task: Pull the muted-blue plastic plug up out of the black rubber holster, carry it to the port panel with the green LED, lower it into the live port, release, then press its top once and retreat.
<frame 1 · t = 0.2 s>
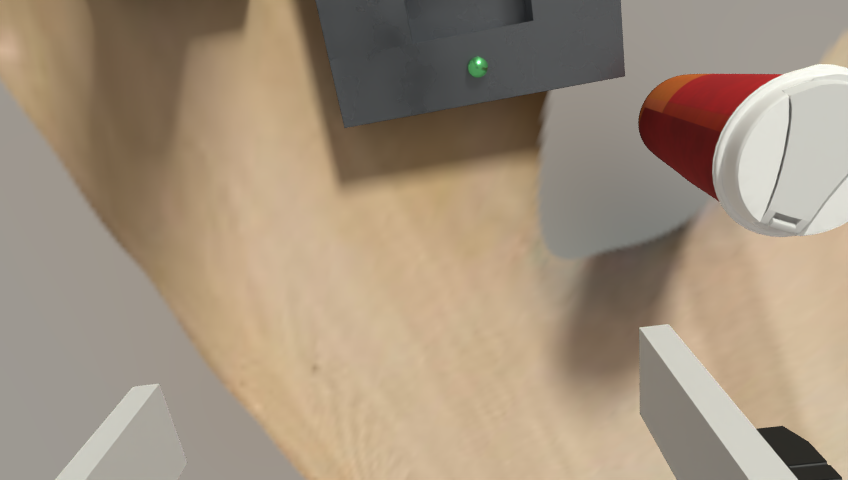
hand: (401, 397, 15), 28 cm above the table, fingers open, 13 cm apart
coffee cup: (679, 116, 40), on the table
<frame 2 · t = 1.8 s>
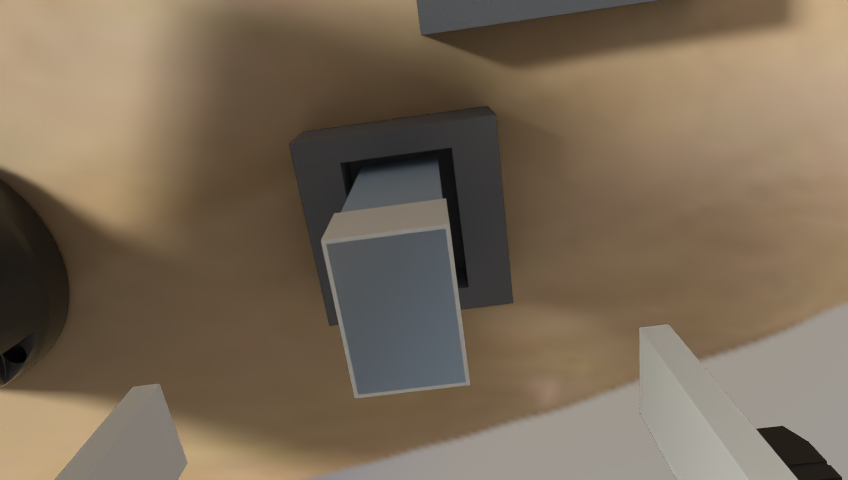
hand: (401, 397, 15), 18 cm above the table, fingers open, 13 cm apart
holster: (408, 207, 32), on the table
plug: (408, 212, 31), point 1 cm above the table, touching holster
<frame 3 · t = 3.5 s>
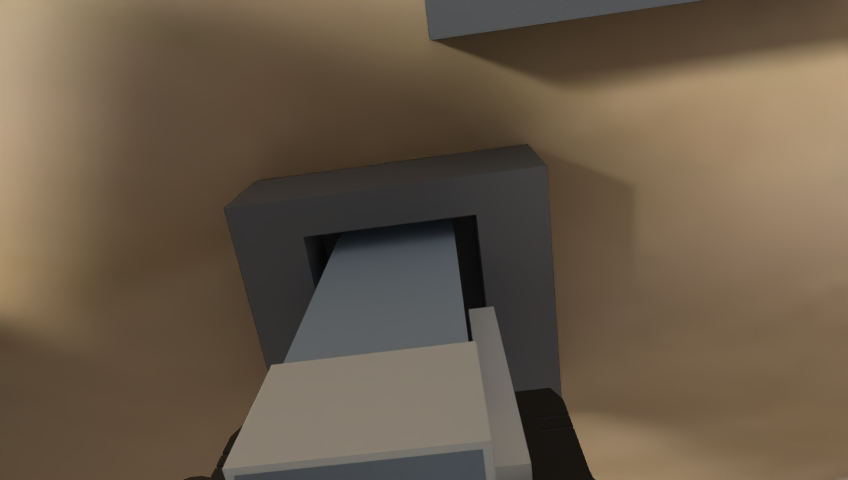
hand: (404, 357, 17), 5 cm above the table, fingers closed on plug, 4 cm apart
holster: (409, 286, 22), on the table
plug: (408, 297, 21), point 1 cm above the table, touching gripper, holster
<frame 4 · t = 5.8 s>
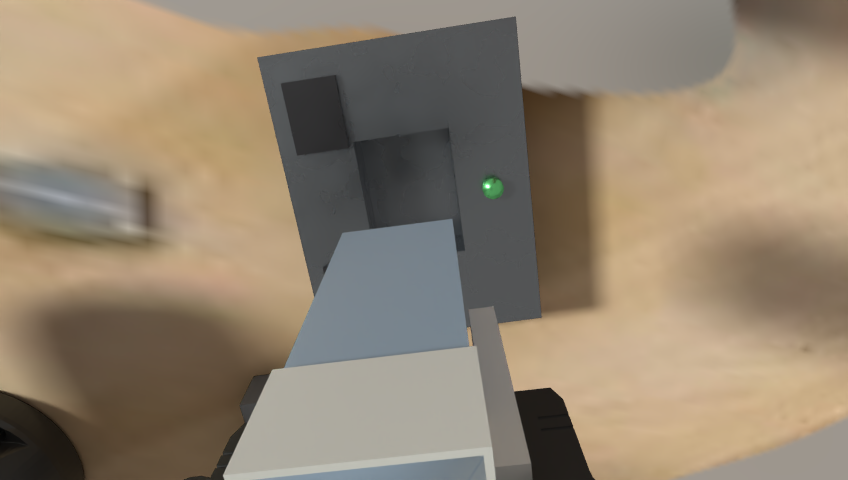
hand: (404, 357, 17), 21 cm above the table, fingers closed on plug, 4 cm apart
port panel: (412, 181, 37), on the table
holster: (333, 422, 43), on the table
plug: (409, 300, 21), point 17 cm above the table, touching gripper
when the fingers open (6 cm above the table, at t = 8.0 s): plug drops 1 cm, resting on port panel.
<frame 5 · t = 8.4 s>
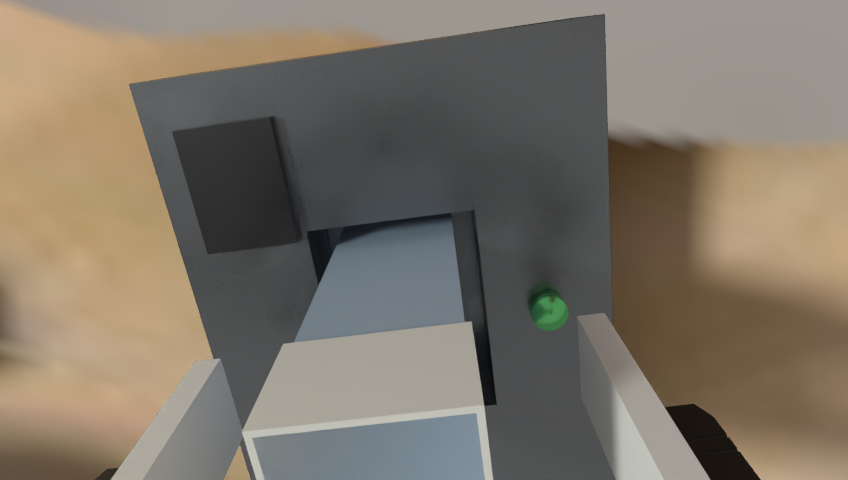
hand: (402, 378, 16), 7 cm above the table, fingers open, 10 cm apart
port panel: (410, 276, 23), on the table
plug: (409, 288, 22), point 1 cm above the table, touching port panel
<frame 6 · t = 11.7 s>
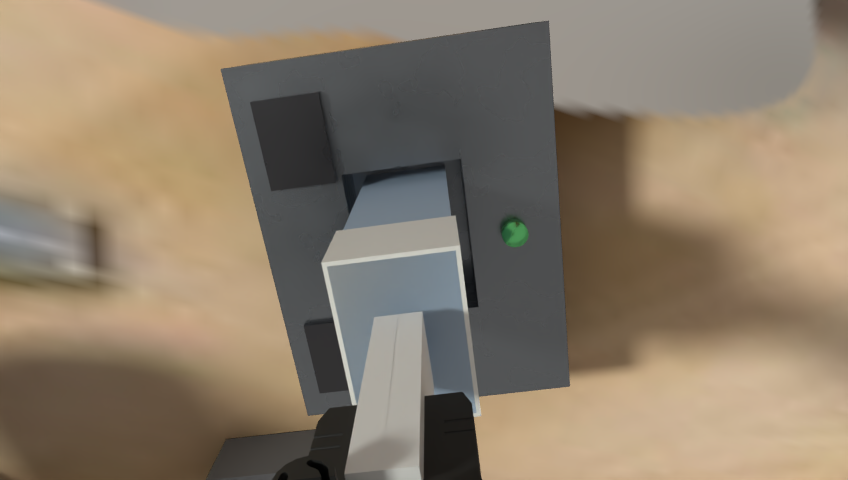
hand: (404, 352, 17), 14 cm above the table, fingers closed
port panel: (414, 217, 30), on the table
plug: (414, 225, 29), point 1 cm above the table, touching port panel
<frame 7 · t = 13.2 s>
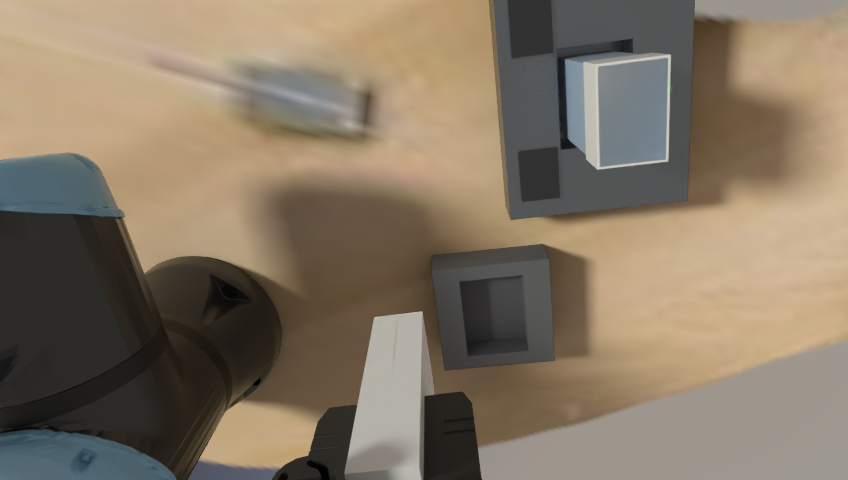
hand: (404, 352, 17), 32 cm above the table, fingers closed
port panel: (583, 91, 46), on the table
holster: (491, 299, 52), on the table
plug: (585, 93, 45), point 1 cm above the table, touching port panel
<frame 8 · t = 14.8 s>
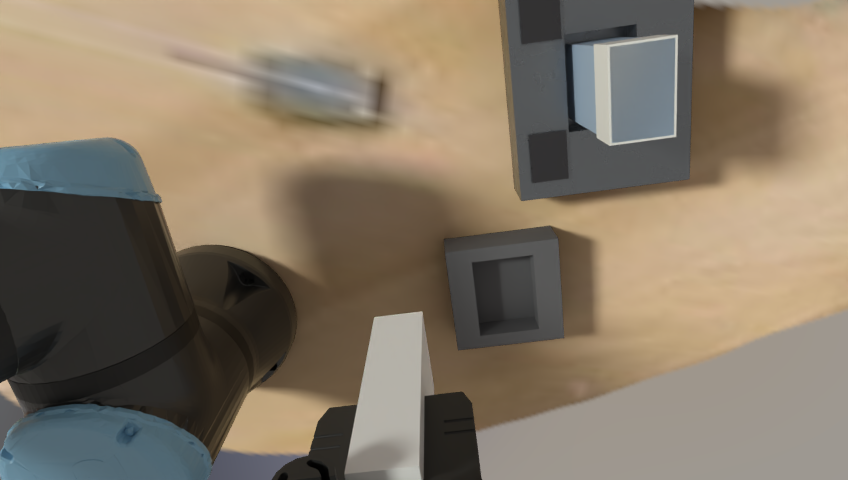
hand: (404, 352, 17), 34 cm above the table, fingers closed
port panel: (587, 76, 48), on the table
holster: (501, 280, 54), on the table
plug: (590, 78, 47), point 1 cm above the table, touching port panel
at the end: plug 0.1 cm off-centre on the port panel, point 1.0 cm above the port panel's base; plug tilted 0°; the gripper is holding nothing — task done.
